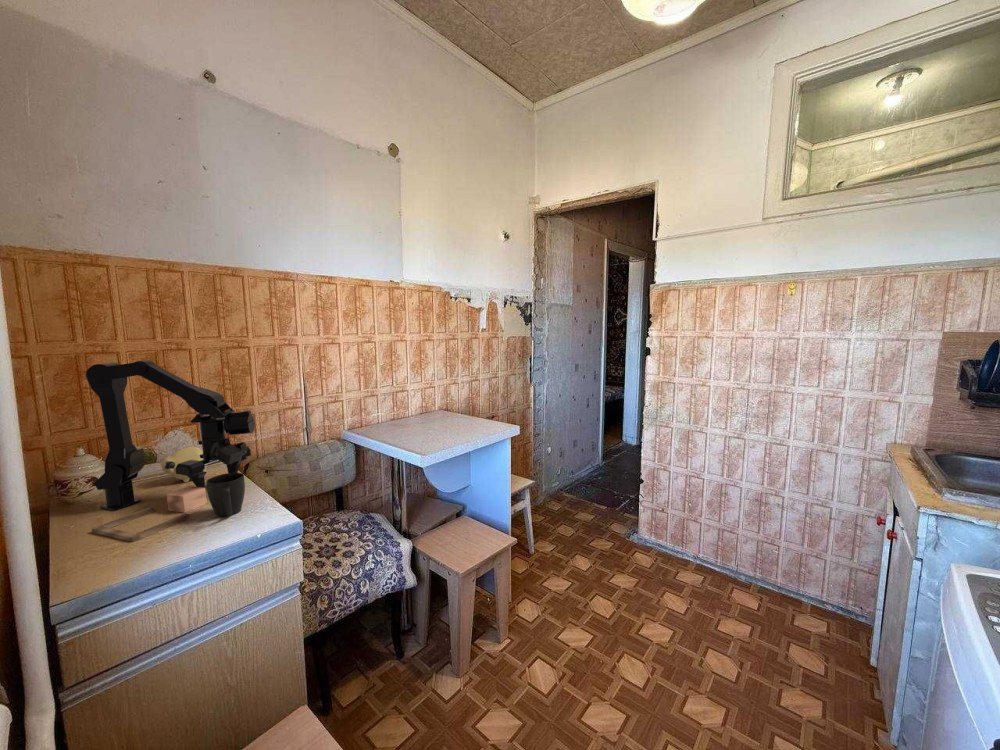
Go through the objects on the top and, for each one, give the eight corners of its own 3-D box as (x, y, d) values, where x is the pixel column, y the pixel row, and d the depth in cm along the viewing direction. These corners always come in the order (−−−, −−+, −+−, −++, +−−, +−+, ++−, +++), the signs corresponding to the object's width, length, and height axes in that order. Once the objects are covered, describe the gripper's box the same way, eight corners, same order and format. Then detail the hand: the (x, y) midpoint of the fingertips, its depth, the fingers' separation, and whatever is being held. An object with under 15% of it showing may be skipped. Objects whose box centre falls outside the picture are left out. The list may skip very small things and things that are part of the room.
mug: (207, 529, 98) (203, 491, 97) (210, 510, 108) (207, 476, 107) (247, 519, 103) (244, 483, 101) (246, 503, 113) (243, 470, 112)
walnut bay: (92, 532, 97) (91, 528, 97) (150, 510, 109) (150, 506, 109) (133, 541, 93) (132, 537, 92) (189, 517, 104) (189, 514, 104)
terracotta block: (168, 510, 109) (166, 494, 108) (190, 501, 115) (189, 485, 114) (184, 512, 107) (183, 496, 107) (206, 503, 113) (205, 487, 112)
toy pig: (161, 481, 131) (157, 449, 130) (206, 471, 139) (203, 441, 138) (165, 489, 124) (161, 455, 123) (212, 478, 132) (209, 447, 131)
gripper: (200, 447, 106) (206, 504, 108) (262, 429, 124) (266, 479, 125) (171, 444, 110) (177, 499, 111) (235, 427, 127) (239, 475, 129)
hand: (218, 487), depth 119 cm, fingers open, 8 cm apart
